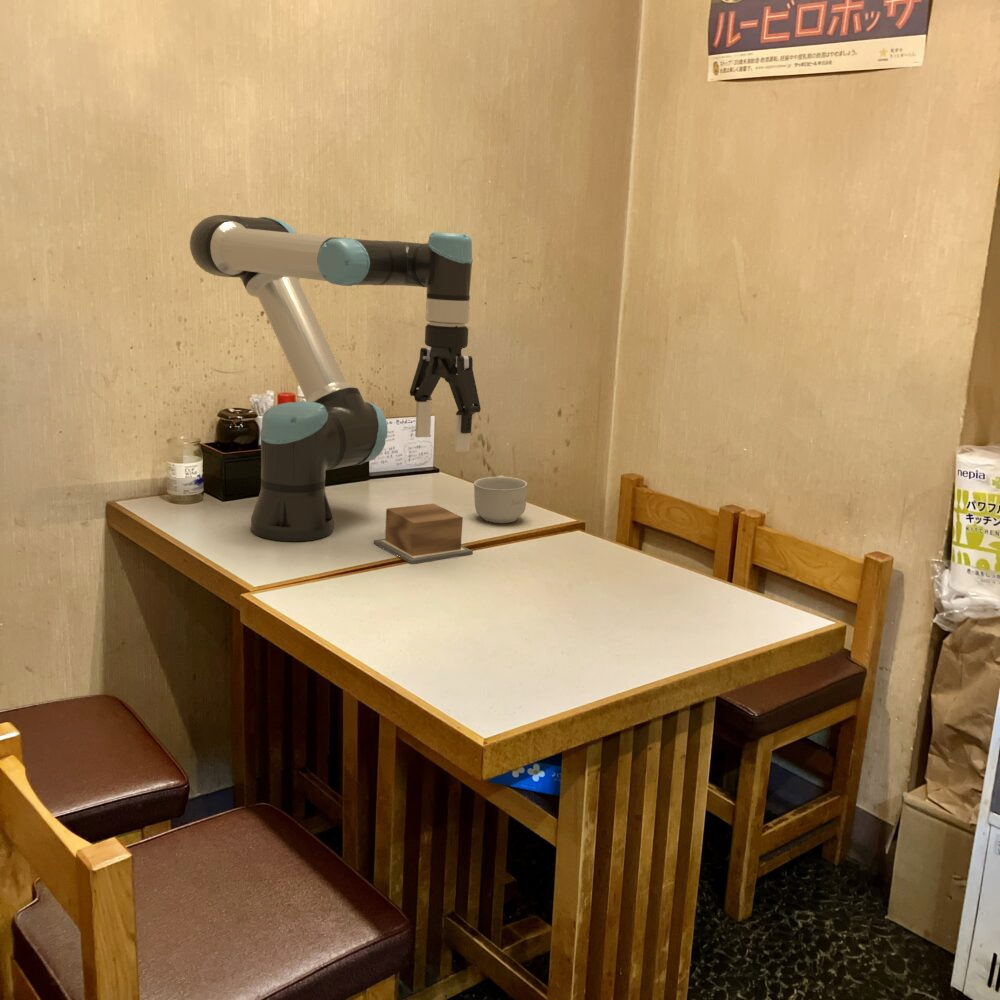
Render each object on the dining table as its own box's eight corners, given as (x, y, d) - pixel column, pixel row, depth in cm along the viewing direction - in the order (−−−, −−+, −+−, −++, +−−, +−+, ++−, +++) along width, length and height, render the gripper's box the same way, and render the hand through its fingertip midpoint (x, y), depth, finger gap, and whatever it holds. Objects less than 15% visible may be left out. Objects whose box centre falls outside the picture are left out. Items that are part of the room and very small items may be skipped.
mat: (373, 543, 182) (373, 539, 182) (432, 534, 190) (432, 531, 190) (411, 564, 172) (411, 560, 172) (472, 554, 180) (472, 550, 180)
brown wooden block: (385, 540, 182) (386, 508, 181) (432, 534, 188) (433, 503, 186) (412, 556, 174) (414, 523, 173) (460, 549, 180) (462, 517, 178)
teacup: (519, 529, 197) (522, 490, 195) (466, 523, 199) (468, 484, 197) (531, 512, 211) (534, 475, 209) (481, 506, 213) (483, 469, 211)
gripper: (505, 331, 166) (497, 456, 171) (429, 318, 186) (424, 430, 191) (467, 331, 162) (460, 459, 167) (393, 317, 182) (390, 432, 187)
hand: (441, 443), depth 179 cm, fingers open, 13 cm apart
